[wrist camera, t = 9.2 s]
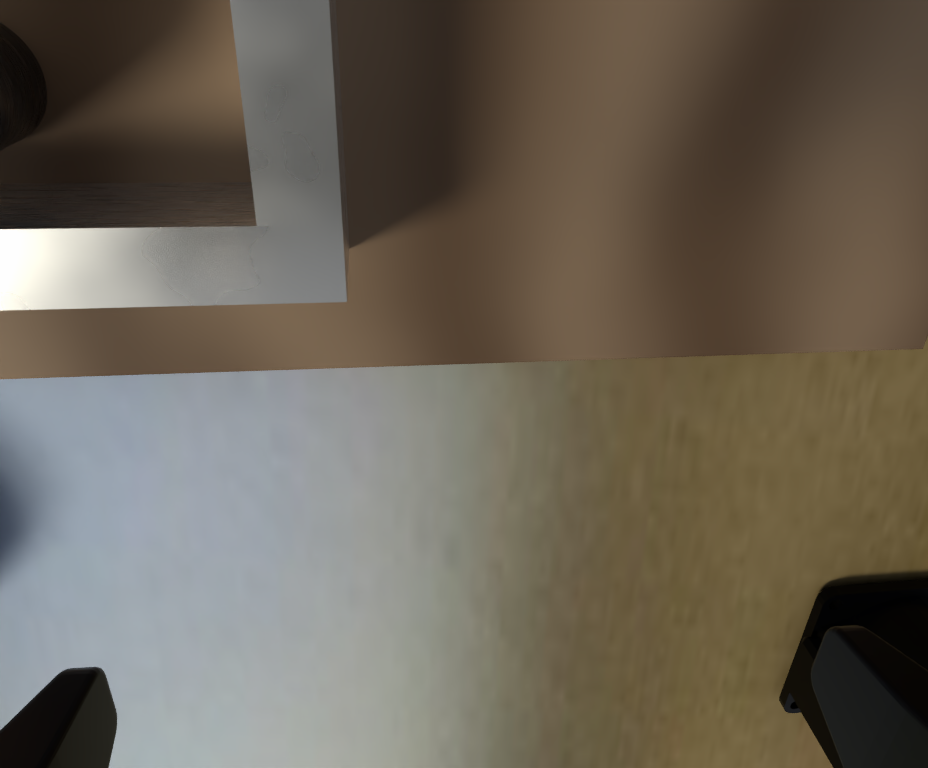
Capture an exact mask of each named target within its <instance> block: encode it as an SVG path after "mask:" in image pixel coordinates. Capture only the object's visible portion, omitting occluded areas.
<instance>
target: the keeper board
mask: <svg viewBox="0 0 928 768" xmlns="http://www.w3.org/2000/svg"><path fill="white" fill-rule="evenodd" d="M336 15H337V33H338V51H339V69H340V87H341V105H342V123H343V141H344V159H345V177H346V195H347V213H348V231H349V270H348V291H347V302H328V303H288V304H248V305H207V306H167V307H126V308H86V309H46V310H5V311H0V379H20V378H50V377H80V376H111V375H141V374H171V373H202V372H232V371H262V370H293V369H323V368H353V367H384V366H414V365H444V364H475V363H505V362H535V361H566V360H596V359H626V358H657V357H687V356H717V355H747V354H778V353H808V352H838V351H869V350H899V349H923V347H924V344H925V342H926V339H927V336H928V0H336ZM0 23H2V24H4V25H5V26H7V27H8V28H9V29H11V30H12V31H13V32H14V33H15V34H17V35H18V36H19V37H20V38H21V39H22V40H23V41H24V43H25V44H26V45H27V46H28V47H29V49H30V50H31V51H32V53H33V54H34V56H35V57H36V59H37V61H38V63H39V65H40V67H41V69H42V72H43V75H44V78H45V81H46V87H47V106H46V110H45V114H44V116H43V119H42V121H41V122H40V124H39V125H38V127H37V128H36V129H35V130H34V131H33V132H32V133H31V134H30V135H28V136H27V137H25V138H24V139H22V140H20V141H18V142H16V143H14V144H12V145H10V146H9V147H7V148H5V149H3V150H1V151H0V184H40V183H209V182H251V173H250V165H249V157H248V148H247V140H246V132H245V123H244V115H243V106H242V98H241V90H240V81H239V73H238V65H237V56H236V48H235V40H234V31H233V23H232V14H231V6H230V0H0Z"/></svg>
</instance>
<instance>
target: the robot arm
mask: <svg viewBox="0 0 928 768" xmlns="http://www.w3.org/2000/svg"><path fill="white" fill-rule="evenodd" d="M779 701H780V702H781V704H782V706H783V708H784V709H785V711H786V712H788V713H799V712H801V713H802V714H803V716H804V718H805V720H806V721H807V723H808V725H809V726H810V728H811V730H812V732H813V733H814V735H815V737H816V738H817V740H818V742H819V744H820V745H821V747H822V749H823V750H824V752H825V754H826V756H827V757H828V759H829V761H830V762H831V764H832V766H833V768H928V580H914V581H901V582H887V583H873V584H860V585H846V586H833V587H828V588H826V589H824V590H823V591H821V592H820V593H819V594H818V596H817V598H816V600H815V603H814V606H813V608H812V611H811V614H810V617H809V619H808V622H807V625H806V627H805V630H804V633H803V635H802V638H801V641H800V643H799V646H798V649H797V652H796V654H795V657H794V660H793V662H792V665H791V668H790V670H789V673H788V676H787V678H786V681H785V684H784V687H783V689H782V692H781V695H780V698H779ZM116 729H117V713H116V708H115V705H114V702H113V698H112V695H111V692H110V688H109V685H108V681H107V678H106V675H105V673H104V671H103V670H102V669H101V668H99V667H85V668H70V669H66V670H64V671H62V672H61V673H59V674H58V675H57V676H56V677H55V678H54V679H53V680H52V681H51V682H50V683H49V684H48V685H47V686H45V687H44V688H43V689H42V690H41V691H40V692H39V693H38V694H37V695H36V696H35V697H34V698H33V699H32V700H31V701H30V702H29V703H28V704H27V705H26V706H25V707H24V708H23V709H22V710H21V711H20V712H19V713H18V714H17V715H16V716H15V717H14V718H13V719H12V720H11V721H10V722H9V723H8V724H7V725H5V726H4V727H3V728H2V729H1V730H0V768H108V767H109V763H110V758H111V753H112V749H113V744H114V740H115V735H116Z"/></svg>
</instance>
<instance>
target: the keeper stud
mask: <svg viewBox="0 0 928 768" xmlns="http://www.w3.org/2000/svg"><path fill="white" fill-rule="evenodd" d="M46 106H47V87H46V81H45V78H44V75H43V72H42V69H41V67H40V65H39V63H38V61H37V59H36V57H35V56H34V54H33V53H32V51H31V50H30V49H29V47H28V46H27V45H26V44H25V43H24V41H23V40H22V39H21V38H20V37H19V36H18V35H17V34H15V33H14V32H13V31H12V30H11V29H9V28H8V27H7V26H5V25H4V24H2V23H0V151H1V150H3V149H5V148H7V147H9V146H10V145H12V144H14V143H16V142H18V141H20V140H22V139H24V138H25V137H27V136H28V135H30V134H31V133H32V132H33V131H34V130H35V129H36V128H37V127H38V125H39V124H40V122H41V121H42V119H43V116H44V114H45V110H46Z"/></svg>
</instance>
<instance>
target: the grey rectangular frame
mask: <svg viewBox="0 0 928 768" xmlns="http://www.w3.org/2000/svg"><path fill="white" fill-rule="evenodd" d="M230 6H231V14H232V23H233V31H234V40H235V48H236V56H237V65H238V73H239V81H240V90H241V98H242V106H243V115H244V123H245V132H246V140H247V148H248V157H249V165H250V173H251V182H209V183H40V184H0V311H5V310H46V309H86V308H126V307H167V306H207V305H248V304H288V303H328V302H347V291H348V270H349V231H348V213H347V195H346V177H345V159H344V141H343V123H342V105H341V87H340V69H339V51H338V33H337V15H336V0H230Z"/></svg>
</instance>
